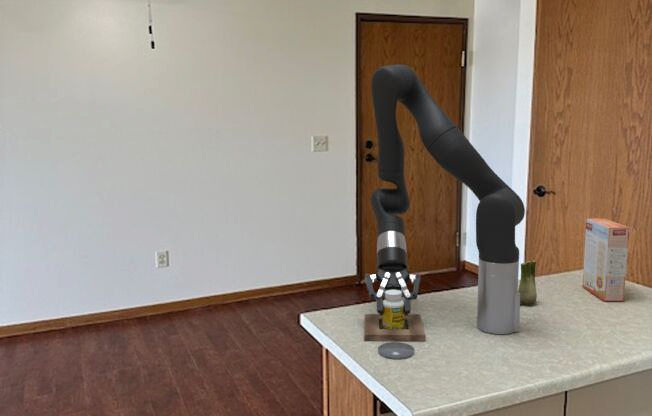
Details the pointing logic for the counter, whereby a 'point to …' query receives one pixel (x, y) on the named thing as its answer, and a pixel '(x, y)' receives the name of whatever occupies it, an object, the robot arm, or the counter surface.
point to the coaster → (396, 350)
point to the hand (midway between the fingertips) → (393, 313)
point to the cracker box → (605, 259)
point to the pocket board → (376, 334)
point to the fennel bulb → (527, 283)
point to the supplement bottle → (393, 310)
